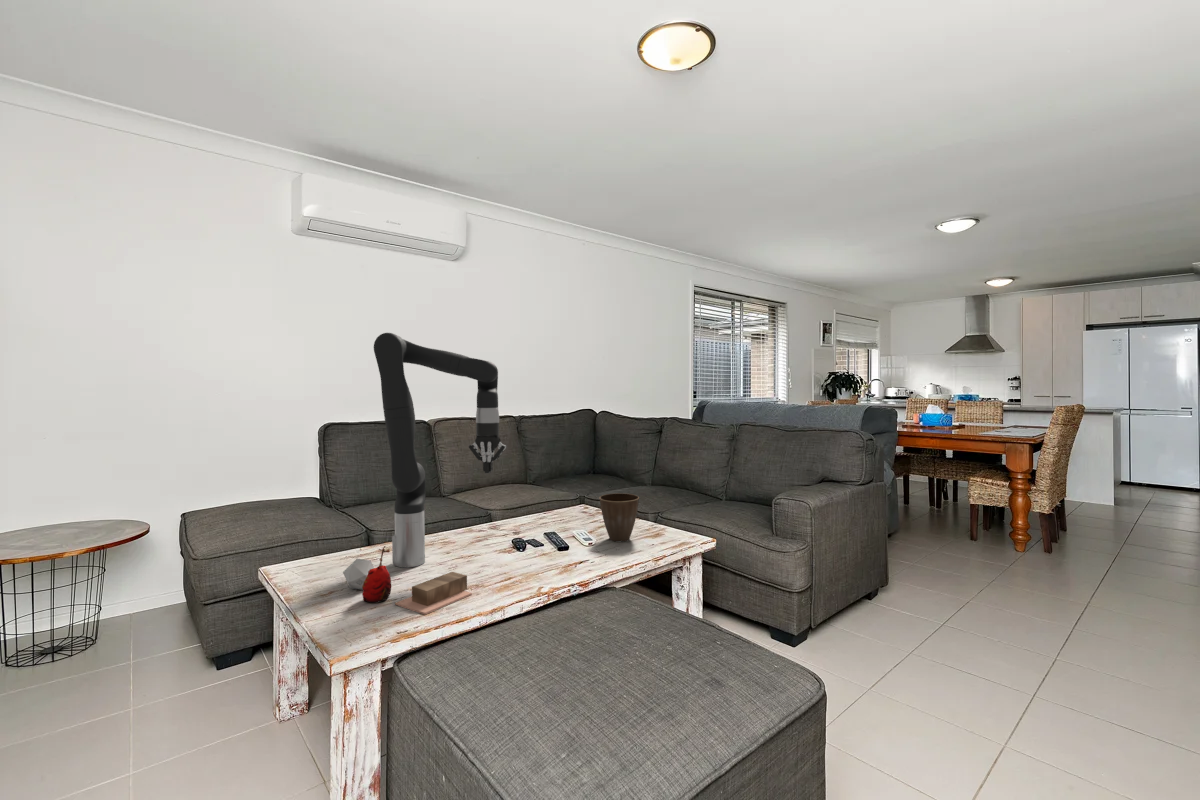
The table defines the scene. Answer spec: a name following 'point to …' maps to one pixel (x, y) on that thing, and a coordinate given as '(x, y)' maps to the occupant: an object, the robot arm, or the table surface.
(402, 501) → the robot arm
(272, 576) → the table surface
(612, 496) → the plant pot
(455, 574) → the walnut block
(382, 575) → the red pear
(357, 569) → the die
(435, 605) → the felt mat
